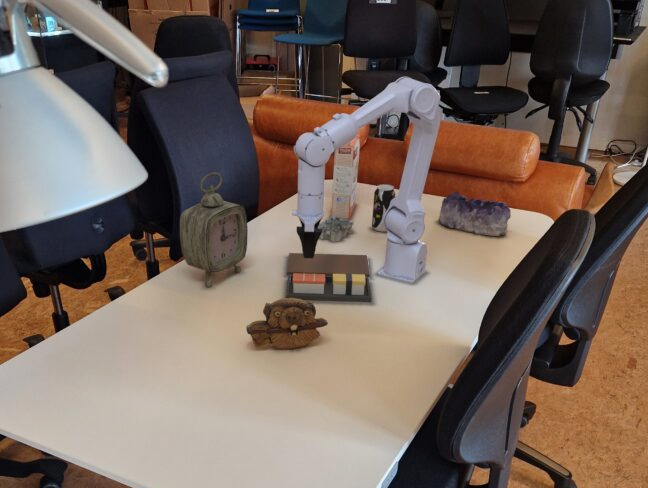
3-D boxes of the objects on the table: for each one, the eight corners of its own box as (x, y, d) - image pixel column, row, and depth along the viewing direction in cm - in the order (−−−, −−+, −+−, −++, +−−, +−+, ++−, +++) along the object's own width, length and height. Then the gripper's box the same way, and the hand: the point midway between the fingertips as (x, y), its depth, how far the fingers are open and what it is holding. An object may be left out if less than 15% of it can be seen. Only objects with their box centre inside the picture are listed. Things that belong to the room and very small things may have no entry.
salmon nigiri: (324, 286, 169) (325, 273, 168) (324, 294, 166) (325, 280, 164) (293, 285, 170) (293, 272, 168) (292, 293, 166) (292, 280, 165)
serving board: (367, 259, 184) (367, 255, 184) (369, 278, 174) (370, 274, 174) (289, 257, 185) (289, 252, 184) (287, 276, 175) (287, 271, 174)
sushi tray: (368, 283, 172) (369, 276, 171) (370, 303, 163) (371, 297, 162) (288, 280, 173) (288, 274, 172) (286, 301, 164) (286, 294, 163)
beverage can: (367, 227, 204) (370, 184, 197) (385, 224, 206) (388, 182, 199) (378, 234, 199) (381, 191, 193) (395, 231, 201) (400, 188, 195)
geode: (431, 229, 203) (435, 193, 198) (442, 222, 212) (446, 187, 208) (504, 239, 195) (510, 201, 191) (512, 231, 204) (518, 195, 200)
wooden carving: (250, 357, 143) (249, 311, 137) (245, 346, 146) (244, 301, 141) (329, 347, 146) (331, 302, 141) (322, 336, 150) (324, 292, 144)
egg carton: (337, 243, 193) (338, 228, 191) (313, 237, 197) (313, 223, 194) (356, 231, 201) (357, 217, 199) (332, 226, 204) (333, 211, 202)
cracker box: (350, 220, 208) (355, 145, 197) (330, 218, 209) (333, 144, 198) (356, 204, 220) (361, 133, 208) (337, 203, 221) (340, 132, 209)
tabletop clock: (208, 292, 167) (202, 184, 153) (180, 282, 172) (172, 176, 158) (248, 272, 177) (246, 169, 163) (220, 263, 181) (216, 162, 168)
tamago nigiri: (363, 287, 169) (364, 273, 167) (364, 295, 166) (365, 281, 164) (332, 286, 169) (332, 272, 168) (332, 294, 166) (333, 280, 164)
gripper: (293, 181, 163) (292, 238, 170) (291, 202, 151) (290, 263, 158) (325, 182, 163) (322, 239, 170) (324, 203, 151) (322, 264, 158)
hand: (309, 251), depth 164 cm, fingers open, 7 cm apart
